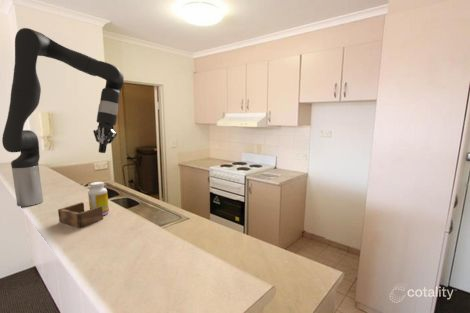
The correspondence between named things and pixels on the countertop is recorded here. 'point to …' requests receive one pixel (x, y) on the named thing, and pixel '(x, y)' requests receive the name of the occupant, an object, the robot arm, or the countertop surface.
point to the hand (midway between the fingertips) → (101, 152)
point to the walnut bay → (79, 215)
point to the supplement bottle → (98, 197)
